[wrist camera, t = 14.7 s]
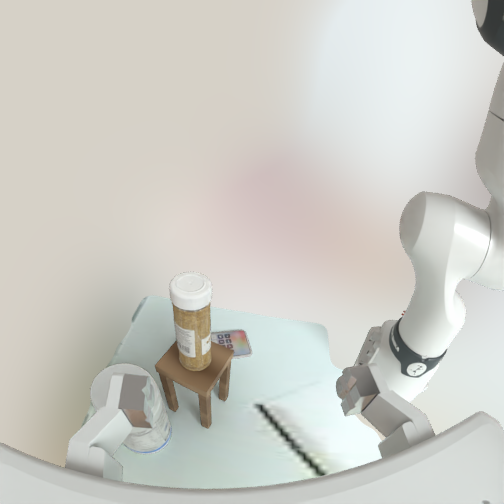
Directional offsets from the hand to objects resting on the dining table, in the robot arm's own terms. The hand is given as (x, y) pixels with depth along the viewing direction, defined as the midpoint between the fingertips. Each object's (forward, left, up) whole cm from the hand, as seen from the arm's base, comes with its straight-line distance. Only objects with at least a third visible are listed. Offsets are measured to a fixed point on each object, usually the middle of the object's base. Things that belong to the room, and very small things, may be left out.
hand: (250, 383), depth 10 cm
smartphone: (-26, -16, -37) cm, 48 cm away
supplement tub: (-3, -16, -36) cm, 40 cm away
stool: (-13, -12, -36) cm, 40 cm away
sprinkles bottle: (-13, -11, -22) cm, 28 cm away
